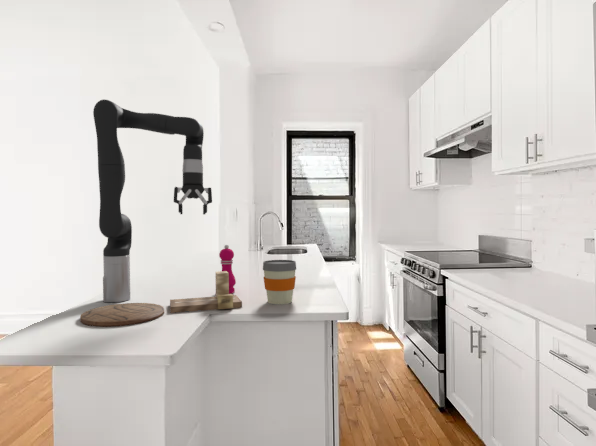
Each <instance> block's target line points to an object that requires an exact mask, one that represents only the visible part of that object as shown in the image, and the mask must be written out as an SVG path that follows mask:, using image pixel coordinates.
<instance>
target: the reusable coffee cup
mask: <svg viewBox="0 0 596 446" xmlns="http://www.w3.org/2000/svg"><path fill="white" fill-rule="evenodd" d="M296 270H297V263H296V260H293V259H271V260H269V259H268V260H264V261H263V263H262V271H263V274H264V276H263V285H264V289H265V291H266V296H267V298H266V299H267V303H268V304H270V305H288V304H290V303H292V301H293V295H294V294H293V293H294V289H295V286H296V278H297V277H296Z"/></svg>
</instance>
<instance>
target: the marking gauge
mask: <svg viewBox="0 0 596 446" xmlns="http://www.w3.org/2000/svg"><path fill="white" fill-rule="evenodd" d="M215 295H216V296H217V298H218V309H217V310H227V309H234V308H233V295H234V294H233V293H232V294H229V273H228V272H227V271H222V270H221V271H219V270H218V271H215ZM216 296H215V297H216Z"/></svg>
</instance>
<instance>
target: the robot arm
mask: <svg viewBox="0 0 596 446" xmlns="http://www.w3.org/2000/svg"><path fill="white" fill-rule="evenodd" d="M92 113H93V114H92V115H93V121H94V127H95V132H96V133H95V134H96V145H97V148H96V149H97V170H98V171H97V172H98V184H99V185H98V187H99V218H98V227H99V231H100V232H101V235H102V236H104V237H105V238H107V242H106V243H107V244H106V246H105V247H104V248H103V251H102V252H103V253H102V254H103V255H102V256H103V277H102V298H103V303H119V302H120V303H121V302H127V301H129V300H130V299H131V261H130V260H131V258H130V257H131V254H130V250H131V248H132V240H133V239H132V233H133V229H132V228H133V227H132V222H131V219H130V218H129V217H128V216H127V215H126V214H124V213H122V209H121V197H122V193H123V190H124V187H125V181H126V166H125V164H126V163H125V159H124V155H123V151H122V149H121V146H120V143H119V139H118V129H134V130H135V129H136V130H137V129H138V130H142V131H143V130H144V131H149V132H153V133H158V134H159V133H160V134H163V135H172V136H173V135H179V136H185V144H184V146H183V151H182V154H183V155H182V157H183V158H182V159H183V160H182V161H183V162H182V186H181V187H179V186H175V187H174V189H173V203H175V204H178V213H179V214H180V215H183V203H184V202H185V200H186V199H190V200H191V199H196V200H197V199H199V200H200V201H201V202H202V203H203V205H202V215H206V214H207V213H208V205H209V204H211V203H213V195H212V194H213V193H212V187H204V177H203V176H204V166H203V144H204V143H203V142H204V132H205V131H204V127H203V125H202V124H201V123H200V122H199V121H198V120H197V119H196V118H194V117H187V116H186V117H185V116H173V115H167V114H162V113H158V112H157V113H154V112H145V113H143V112H136V111H133V110H129V109H126V108H122V107H121V106H119V105H118V104H116V103H115V102H113V101H111V100H109V99H101V100H99V101H97V102H96V104H94V107H93V111H92ZM180 191H181V192H182V193H183V196H182V197H181V198H180V200H178V194H179V193H180ZM204 192H205V193H206V194H207V200H206V199H205V197H204V196H203V193H204Z"/></svg>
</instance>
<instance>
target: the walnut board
mask: <svg viewBox="0 0 596 446" xmlns="http://www.w3.org/2000/svg"><path fill="white" fill-rule="evenodd" d="M232 295H233V308H232V309H236V308H237V309H238V308H243V301H242V300H241V299H240V298H239V296H237V295H236V294H232ZM169 306H170V309H169V310H170V313H171V314H174V313H175V312H176V313H186V312H185V311H189V312H198V310H201V311H208V310H209V311H212V310H213V311H214V310H219V309H218V298H217V296H204V297H203V296H202V297H190V298H178V299H176V298H175V299H169ZM176 313H175V314H176Z"/></svg>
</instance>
